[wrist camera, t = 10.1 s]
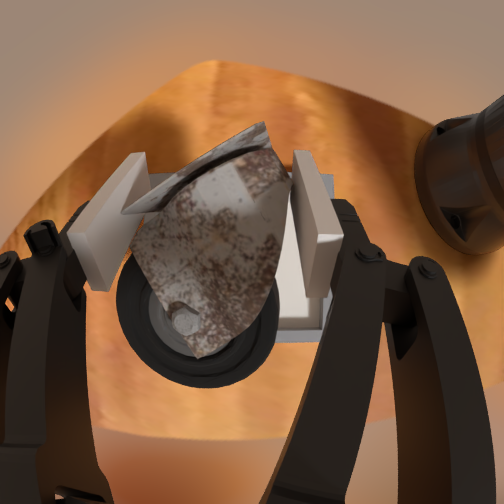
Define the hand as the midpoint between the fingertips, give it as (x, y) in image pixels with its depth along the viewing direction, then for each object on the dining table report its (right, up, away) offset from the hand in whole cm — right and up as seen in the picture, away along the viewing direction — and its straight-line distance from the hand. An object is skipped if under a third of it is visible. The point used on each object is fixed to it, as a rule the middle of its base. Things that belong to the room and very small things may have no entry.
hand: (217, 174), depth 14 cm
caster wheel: (0, -5, +3) cm, 6 cm away
